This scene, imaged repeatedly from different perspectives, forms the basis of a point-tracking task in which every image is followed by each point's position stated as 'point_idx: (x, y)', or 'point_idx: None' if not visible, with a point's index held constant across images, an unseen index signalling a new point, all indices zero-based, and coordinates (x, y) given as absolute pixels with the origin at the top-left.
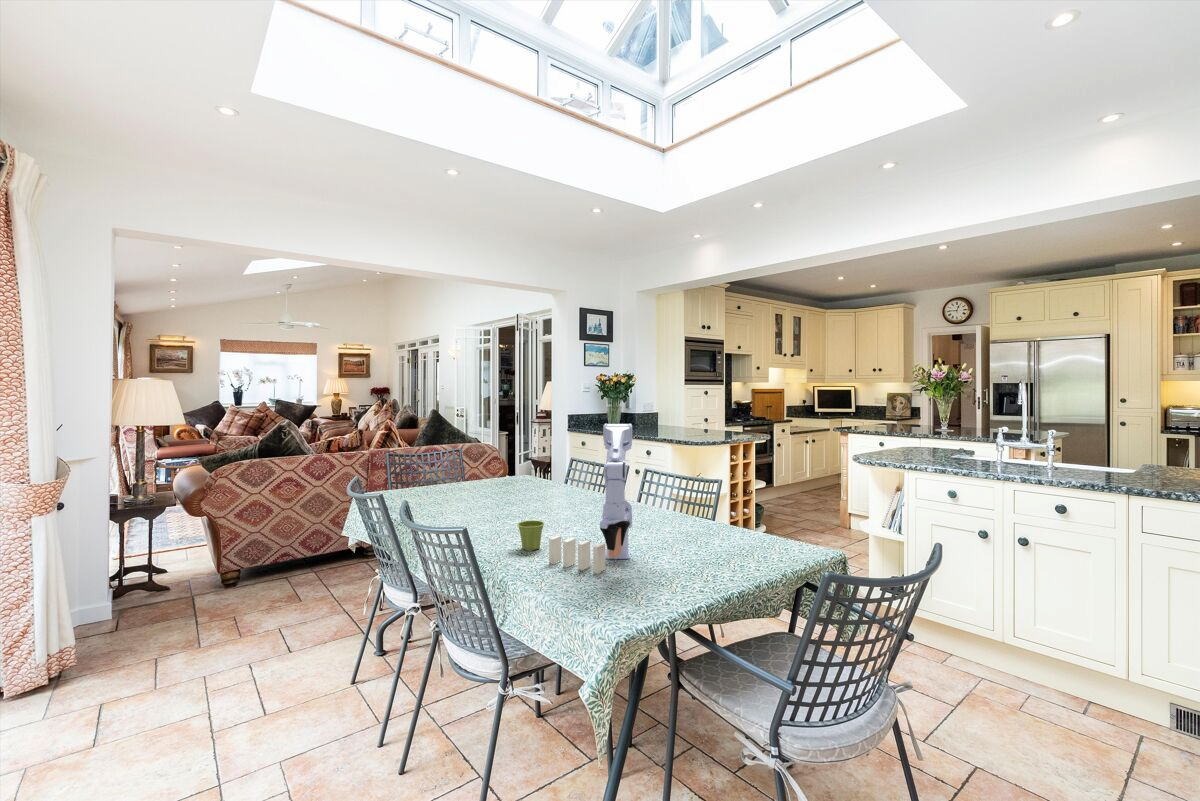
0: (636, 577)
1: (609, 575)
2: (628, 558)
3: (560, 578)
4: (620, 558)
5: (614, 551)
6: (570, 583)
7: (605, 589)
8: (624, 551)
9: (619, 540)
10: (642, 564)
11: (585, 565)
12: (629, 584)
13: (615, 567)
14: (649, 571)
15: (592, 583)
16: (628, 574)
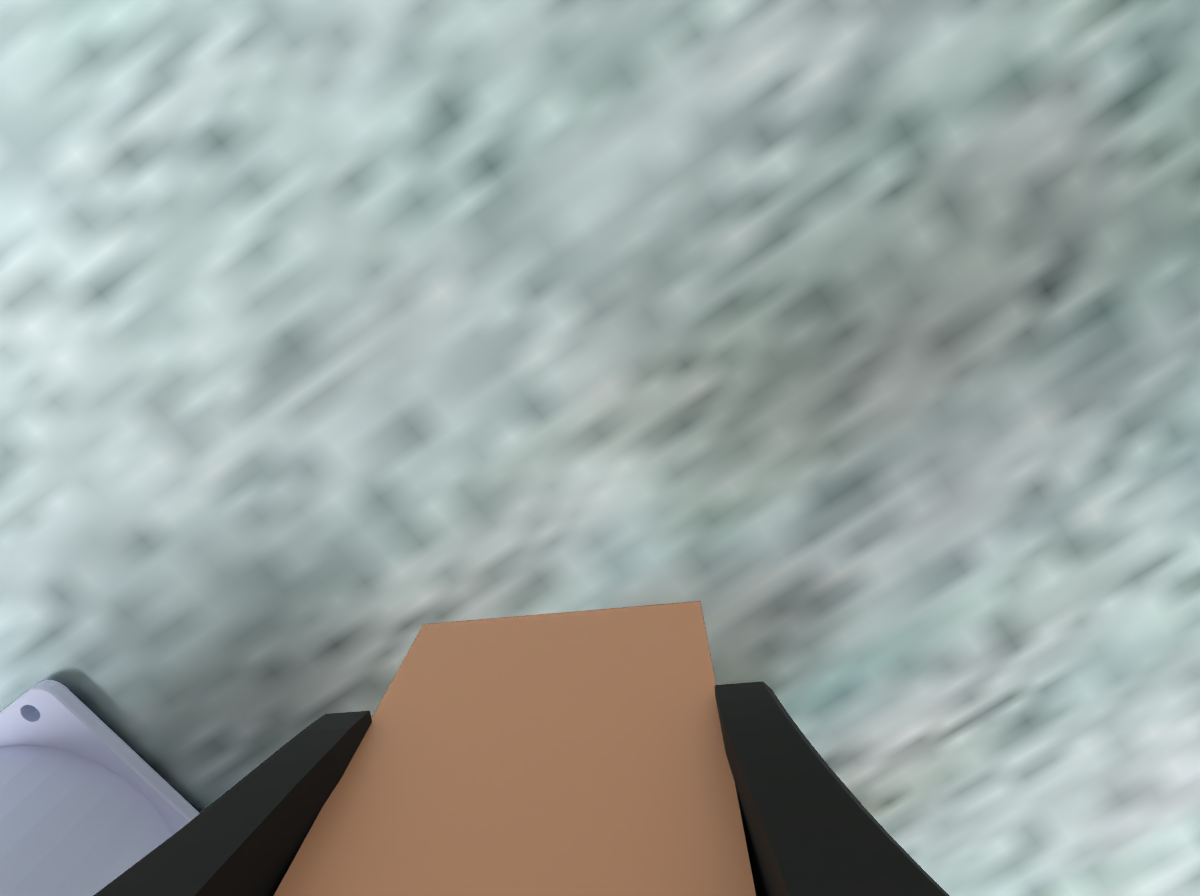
0: (509, 242)
1: (661, 554)
2: (62, 688)
3: (1040, 888)
4: (134, 755)
5: (687, 668)
6: (1127, 738)
7: (1117, 316)
8: (7, 796)
9: (404, 836)
10: (71, 457)
11: None
12: (792, 162)
13: (392, 648)
14: (205, 231)
15: (1006, 558)
16: (485, 392)
